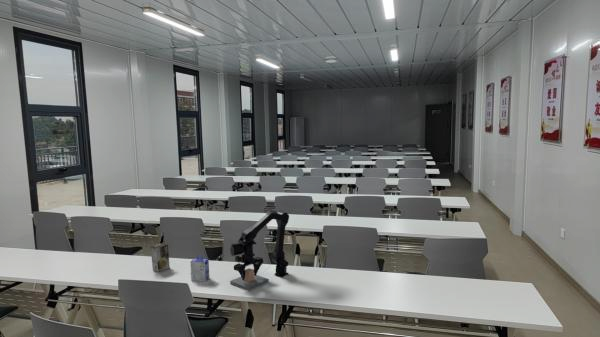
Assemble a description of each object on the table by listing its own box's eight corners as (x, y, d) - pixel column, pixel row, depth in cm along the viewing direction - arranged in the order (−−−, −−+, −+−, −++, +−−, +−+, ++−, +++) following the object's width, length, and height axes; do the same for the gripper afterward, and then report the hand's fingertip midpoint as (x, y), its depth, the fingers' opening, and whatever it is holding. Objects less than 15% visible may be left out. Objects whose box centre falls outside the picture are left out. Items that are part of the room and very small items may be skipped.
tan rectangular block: (249, 281, 234) (249, 268, 234) (254, 282, 232) (253, 269, 231) (244, 283, 231) (244, 270, 231) (249, 284, 229) (248, 271, 228)
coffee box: (164, 265, 264) (162, 242, 262) (169, 267, 260) (168, 244, 258) (152, 270, 256) (150, 246, 254) (157, 272, 253) (156, 247, 251)
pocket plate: (250, 275, 243) (250, 272, 243) (268, 281, 232) (268, 278, 232) (230, 283, 231) (230, 280, 231) (248, 290, 220) (248, 287, 220)
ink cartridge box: (210, 278, 241) (208, 255, 239) (206, 281, 235) (204, 258, 234) (195, 277, 243) (193, 254, 241) (190, 280, 237) (189, 257, 236)
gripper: (251, 245, 242) (252, 270, 244) (227, 253, 228) (228, 279, 230) (263, 249, 234) (264, 274, 236) (239, 257, 221) (240, 284, 222)
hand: (249, 277), depth 231 cm, fingers open, 9 cm apart
